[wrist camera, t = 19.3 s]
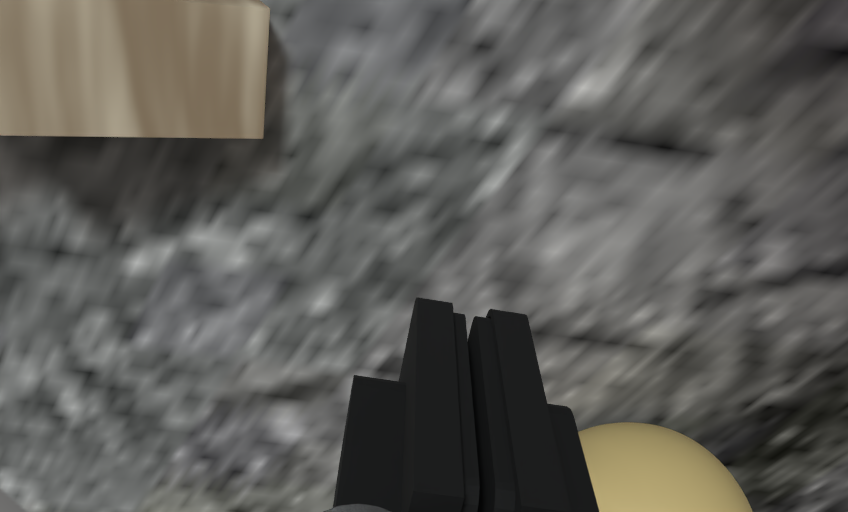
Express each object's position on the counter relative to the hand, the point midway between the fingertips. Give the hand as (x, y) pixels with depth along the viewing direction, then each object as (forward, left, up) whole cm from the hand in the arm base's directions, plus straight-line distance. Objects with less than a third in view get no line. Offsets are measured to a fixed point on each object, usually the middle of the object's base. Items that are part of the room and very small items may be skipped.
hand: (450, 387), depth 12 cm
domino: (+7, +1, -21) cm, 22 cm away
